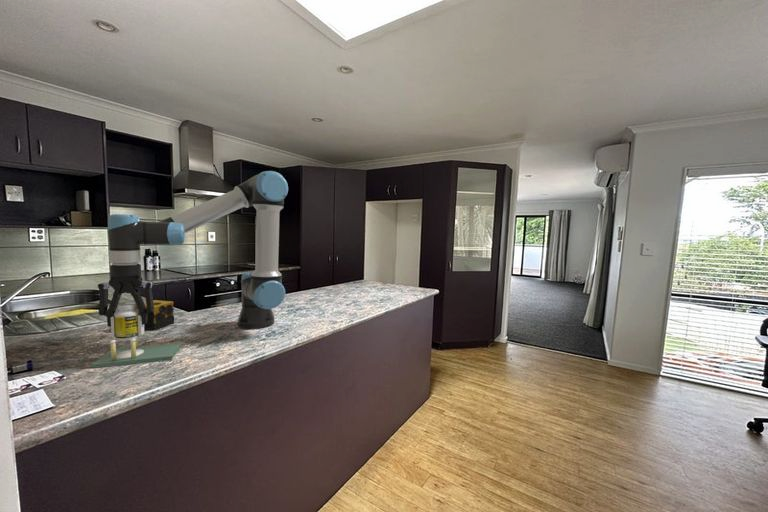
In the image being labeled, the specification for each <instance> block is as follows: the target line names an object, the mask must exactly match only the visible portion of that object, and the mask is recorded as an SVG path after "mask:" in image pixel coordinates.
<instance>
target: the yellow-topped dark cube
mask: <svg viewBox="0 0 768 512" xmlns="http://www.w3.org/2000/svg"><path fill="white" fill-rule="evenodd" d="M153 303H154V310H153V311H152V312H151V313H148V314H147V321H148V322H147V323H146V324H144V331H154V330H155V331H158V330H160V328H161V329H163V328H166V327H168V326H171V324H172V325H174V323H175V314H174V310H175V309H174V301H171V300H168V301H167V300H158V299H153ZM144 304H145V306H146V301H144ZM146 308H147V306H146ZM136 310H138V311H139V309H138V307H137V308H136ZM157 329H158V330H157Z"/></svg>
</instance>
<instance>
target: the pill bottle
mask: <svg viewBox="0 0 768 512" xmlns="http://www.w3.org/2000/svg"><path fill="white" fill-rule="evenodd" d="M136 308H137V305H136V303H135V302H125V303H120V304H119V303H118V305H117V308H116V310H118V311H117V312H115V314H114V315H115V331H116V337H115V340H116V341H118V342H119V341H120V342H126V341H130V339H132V338H138V339H139V338H140V337H141V336H138V315H140V312H139V311H138V310H136Z"/></svg>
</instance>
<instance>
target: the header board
mask: <svg viewBox="0 0 768 512" xmlns="http://www.w3.org/2000/svg"><path fill="white" fill-rule="evenodd" d="M116 341H117V340H116V339H111V340H109V345H110V350H108V352H106V353H105V354H103V355H102V356H101V357H100V358H98V359H97V360H96V361H94V362H93V363H92V365H91V367H92V369H97V368H106V367H108V368H109V367H115V366H116V367H118V366H125V365H127V366H128V365H135V364H137V365H138V364H143V363H144V364H146V363H155V362H163V361H172V360H173V359H174V358H175V356H176V354H178V352H179V351H180V349H181V348H182V347H183V343H182V342H177V343H175V342H174V343H165V344H153V345H143V346H139V337H138V338H132V339H130V340H129V343H130V347H123V348H116V347H117V346H116V345H117V344H116Z"/></svg>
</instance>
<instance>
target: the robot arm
mask: <svg viewBox="0 0 768 512" xmlns="http://www.w3.org/2000/svg"><path fill="white" fill-rule="evenodd" d="M288 185H289V184H288V182H287V180H286V179H285V177H284V176H283V175H282V174H281V173H279V172H277V171H274V170H265V171H262V172H260V173H258V174H256V175H253V176H251V177H250V178H249V179H247V180H246V181H244V182H242V183H240V184H238V185H236V186H234V188H233V190H230V191H227V192H226V193H223V194H220V195H219V196H217V197H216V196H215V197H214V198H212V199H209V200H206V201H203V202H201V203H200V204H198V205H195V206H193V207H190V208H188V209H186V210H184V211H181V212H177V213H176V214H173V215H172V216H170V217H167V218H164V219H162V220H159V221H143V220H142V221H141V220H140V217H139V215H137V214H121V213H119V214H117V213H114V214H113V213H112V214H110V215H109V216H108V218H107V219H108V220H107V236H108V239H107V240H108V249H109V251H108V255H109V259H108V260H109V262H108V263H110V265H109V276H110V279H109V280H108V281H107V282H101V283H98V284H97V288H98V290H99V302H98V315H99V316H104V317H106V322H107V323H106V324H107V327H109V328H110V329H111V330H110V332H111V333H110V334H111V339H112V338H116V331H115V314H116V311H117V306H118V305H119V302H120V300H121V297H122V295H123V294H130V296H132V298H133V300H134V303H136V305H137V307H138V309H139V312H140V315H138V336H140V337H141V336H142V335H144V334H145V330H144V324H146V323H147V322H148V321H147V314H148V313H151V312H152V311H153V310H154V303H153V300H154V297H153V291H152V290H153V285H154V282H153V281H147V280H144V279H143V277H142V265H141V264H140V263H141V259H142V258H141V245H143V246H144V245H145V246H147V245H149V246H151V245H152V246H153V245H155V246H160V245H161V246H162V245H163V246H164V245H165V246H169V245H170V246H175V245H179V246H180V245H183V244H184V243H185V236H186V235H185V234H187V233H190V232H191V231H194V230H196V229H198V228H200V227H203V226H205V225H207V224H209V223H211V222H214V221H216V220H218V219H221V218H222V217H225V216H226V215H229V214H231V213H234V212H235V211H237V210H240V209H243V208H246V209H247V208H251V207H254V209H255V210H256V217H255V219H256V222H255V225H256V226H255V228H256V229H255V269H254V271H253V272H246V273H243V274H242V275H241V280H240V284H241V310H240V312H239V315H238V319H237V327H238V328H241V329H245V330H246V329H247V330H250V329H252V330H255V329H256V330H257V329H264V328H267V327H270V326H272V325H274V324H275V314H274V313H273V310H272V309H275V308H278V306H280V305H281V304H282V302H283V301H284V299H285V297H286V296H285V295H286V289H285V287H284V285H283V283H282V281H283V279H282V277H283V275H282V274H283V273H281V272H280V270H279V249H280V248H279V247H280V243H279V242H280V212H281V210H283V209H284V205H285V198H286V197H287V195H288V192H289V186H288ZM141 286H142V287H143V288H144V296H145V301H144V299H143V297H142V295H141V291H140V289H139V288H140V287H141ZM110 288H112V289H113V290H114V291H113V293H112V297H111V301H110V304H109V289H110ZM145 302H146V306H147V308H146V306H145V304H144V303H145ZM108 305H109V306H108Z"/></svg>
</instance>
